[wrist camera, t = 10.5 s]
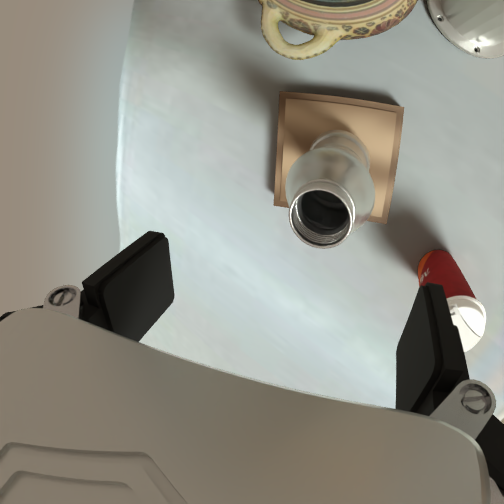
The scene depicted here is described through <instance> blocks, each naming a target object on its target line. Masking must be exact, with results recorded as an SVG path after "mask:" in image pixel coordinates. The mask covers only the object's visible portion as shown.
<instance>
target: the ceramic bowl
mask: <svg viewBox="0 0 504 504" xmlns="http://www.w3.org/2000/svg"><path fill="white" fill-rule="evenodd" d="M258 1H259V3H260V4H261V5H262V6H263V7H262V16H261V30H262V33H263V36H264V38H265V40H266V42H267V43H268V44H269V46H270V47H271V48H272V49H273V50H274V51H275V52H276V53H278V54H280V55H282V56H284V57H287V58H290V59H293V60H303V59H308V58H312V57H315V56H318V55H320V54H322V53H324V52H326V51H327V50H328V49H330V48H331V47H332V46H333V45H334V44H335V43H336V42H337V41H339V40H350V39H359V38H366V37H370V36H373V35H377V34H380V33H382V32H385V31H387V30H389V29H390V28H392V27H394V26H395V25H397V24H399V23H400V22H401V21H402V20H403V19H404V18H406V16H407V15H408V14H409V13H410V12H411V11H412V9H413V8H414V6H415V4H416V3H417V1H418V0H258ZM279 21H282V22H283V23H285V24H287V25H289V26H290V27H292V28H294V29H297V30H299V31H301V32H304V33H307V34H310V35H314V38H313V39H311V40H310V41H308V42H306V43H303V44H299V45H293V44H289V43H288V42H286V41H285V40H284V39H283V37H282V36H281V34H280V32H279V29H278V22H279Z"/></svg>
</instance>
